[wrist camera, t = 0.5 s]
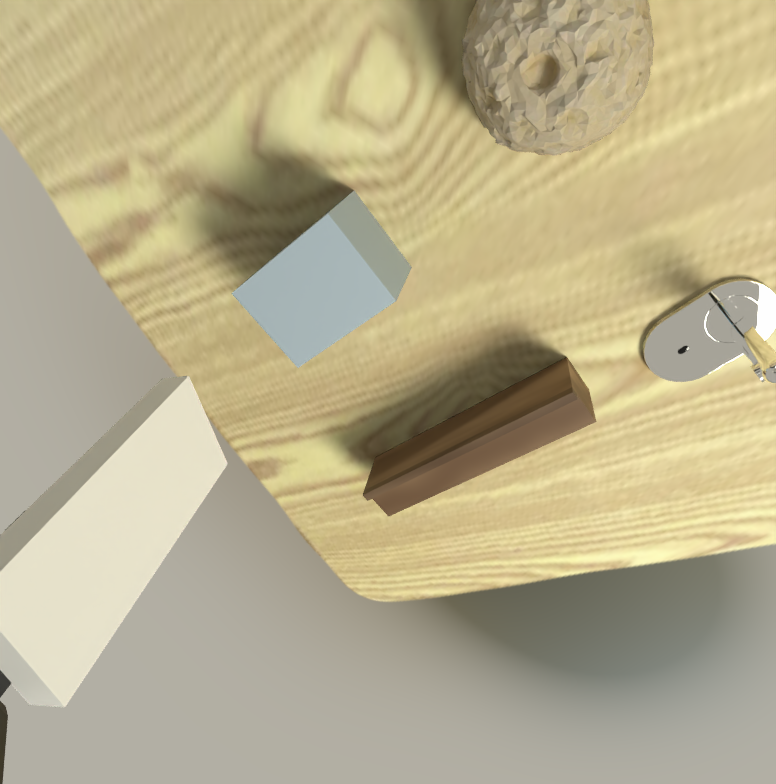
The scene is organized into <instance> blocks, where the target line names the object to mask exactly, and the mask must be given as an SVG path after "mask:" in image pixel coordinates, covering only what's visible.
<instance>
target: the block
mask: <svg viewBox="0 0 776 784" xmlns="http://www.w3.org/2000/svg"><path fill="white" fill-rule="evenodd" d="M411 268H412V267H411V266H410V264H409V263H408V262H407V260H406V259H405V258H404V256H403V255H402V254H401V252H400V251H399V250H398V248H397V247H396V246H395V244H394V243H393V242H392V240H391V239H390V238H389V236H388V235H387V234H386V232H385V231H384V230H383V228H382V227H381V226H380V224H379V223H378V222H377V220H376V219H375V218H374V216H373V215H372V214H371V212H370V211H369V210H368V208H367V207H366V206H365V204H364V203H363V202H362V200H361V199H360V198H359V196H358V195H357V194H356V192H355V191H353V192H352V193H350V194H349V195H348V196H347V197H346V198H344V199H343V200H342V201H341V202H340V203H338V204H337V205H336V206H335V207H333V208H332V209H331V210H330V211H329V212H327V213H326V214H325V215H324V216H323V217H321V218H320V219H319V220H318V221H317V222H315V223H314V224H313V225H312V226H311V227H309V228H308V229H307V230H306V231H305V232H303V233H302V234H301V235H300V236H299V237H297V238H296V239H295V240H294V241H293V242H291V243H290V244H289V245H288V246H287V247H285V248H284V249H283V250H282V251H280V252H279V253H278V254H277V255H276V256H274V257H273V258H272V259H271V260H270V261H268V262H267V263H266V264H265V265H264V266H263V267H261V268H260V269H259V270H258V271H257V272H256V273H255V274H253V275H252V276H251V277H250V278H249V279H248V280H246V281H245V282H244V283H243V284H242V285H241V286H240V287H238V288H237V289H236V290H235V291H234V292H233V293H232V294H233V296H234V297H235V298H236V299H237V300H238V301H239V302H240V303H241V305H242V306H243V307H244V308H245V309H246V310H247V311H248V312H249V314H250V315H251V316H252V317H253V318H254V319H255V320H256V321H257V323H258V324H259V325H260V326H261V327H262V328H263V329H264V330H265V332H266V333H267V334H268V335H269V336H270V337H271V338H272V339H273V341H274V342H275V343H276V344H277V345H278V346H279V347H280V348H281V350H282V351H283V352H284V353H285V354H286V355H287V356H288V357H289V358H290V360H291V361H292V362H293V363H294V364H295V365H296V366H297V367H300V366H301V365H303V364H304V363H306V362H307V361H309V360H310V359H312V358H313V357H314V356H316V355H317V354H319V353H320V352H322V351H323V350H325V349H326V348H328V347H329V346H331V345H332V344H334V343H335V342H337V341H338V340H339V339H341V338H342V337H344V336H345V335H347V334H348V333H350V332H351V331H353V330H354V329H356V328H357V327H359V326H360V325H362V324H363V323H364V322H366V321H367V320H369V319H370V318H372V317H373V316H375V315H376V314H378V313H379V312H381V311H382V310H384V309H385V308H387V307H388V306H389V305H391V304H392V303H394V302H395V301H396V300H397V298H398V296H399V294H400V292H401V289H402V287H403V285H404V283H405V281H406V279H407V276H408V274H409V272H410V270H411Z"/></svg>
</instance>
